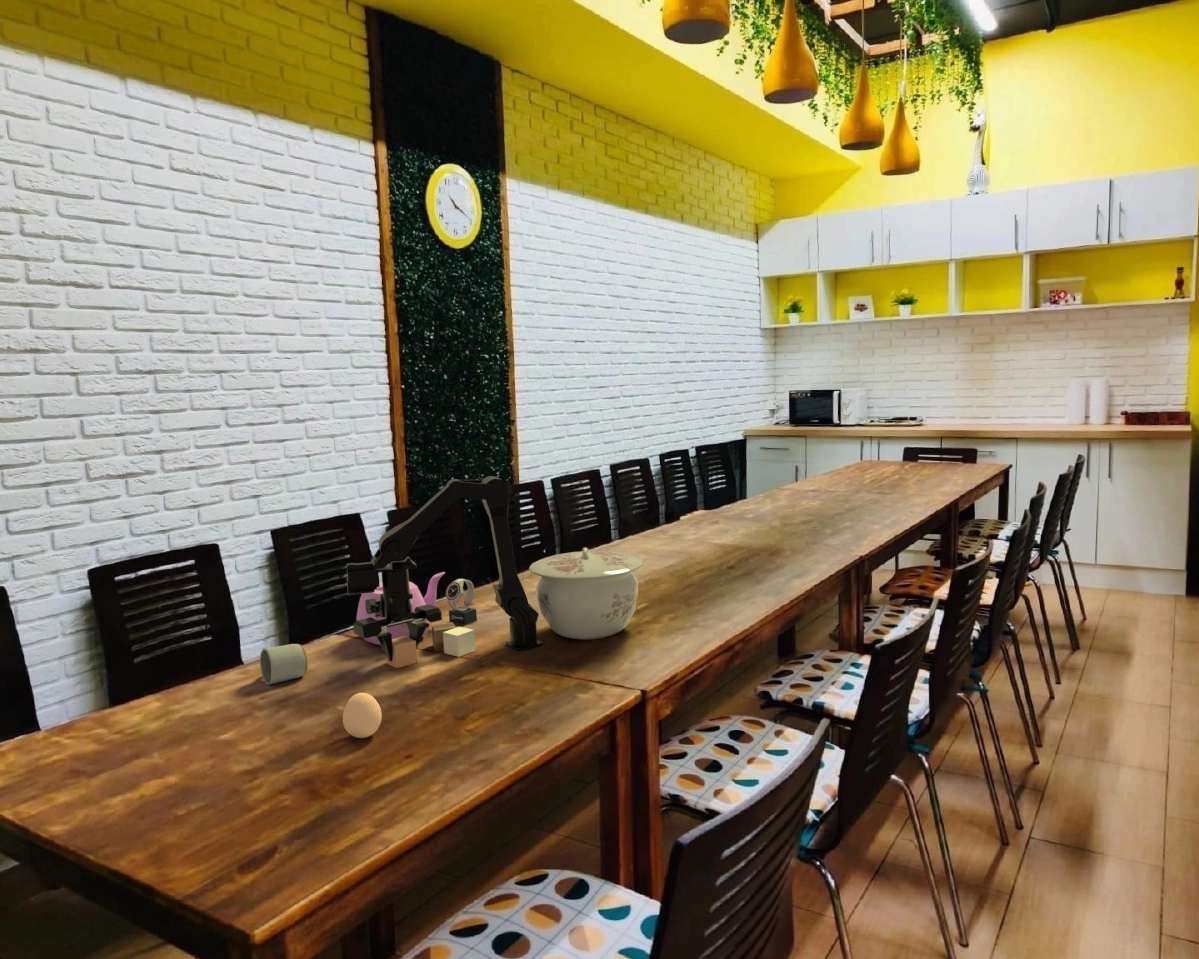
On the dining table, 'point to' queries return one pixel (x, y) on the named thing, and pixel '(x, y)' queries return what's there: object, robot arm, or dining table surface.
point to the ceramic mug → (283, 663)
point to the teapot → (415, 602)
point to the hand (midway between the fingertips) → (401, 658)
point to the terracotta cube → (403, 652)
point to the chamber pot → (587, 592)
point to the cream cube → (459, 641)
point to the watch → (464, 613)
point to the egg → (362, 715)
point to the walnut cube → (440, 634)
